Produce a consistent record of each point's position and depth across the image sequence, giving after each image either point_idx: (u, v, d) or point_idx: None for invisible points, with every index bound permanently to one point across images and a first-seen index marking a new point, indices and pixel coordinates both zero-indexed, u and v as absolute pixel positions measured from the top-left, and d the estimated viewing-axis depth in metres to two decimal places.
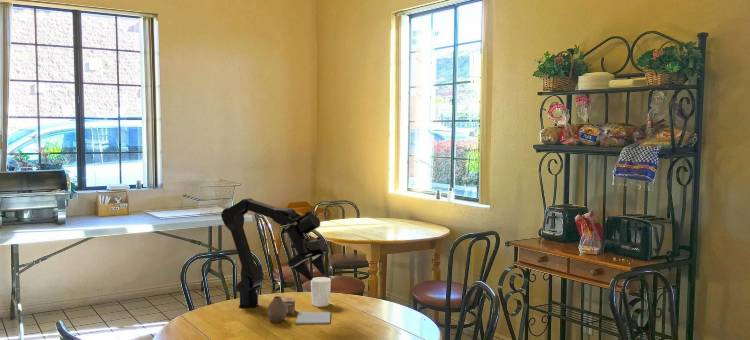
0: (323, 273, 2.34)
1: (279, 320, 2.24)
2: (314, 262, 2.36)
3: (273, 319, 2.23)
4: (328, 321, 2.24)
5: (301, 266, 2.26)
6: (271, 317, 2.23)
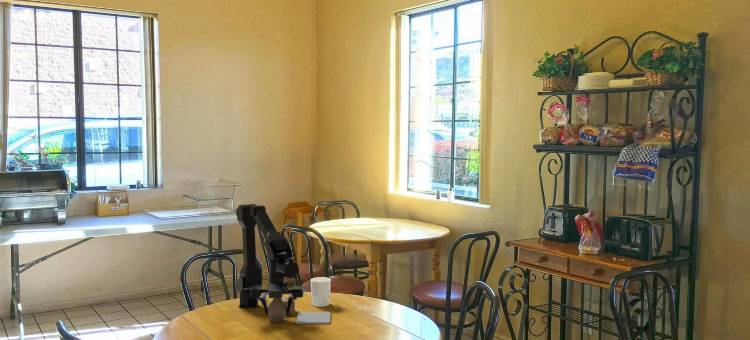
0: None
1: (279, 320, 2.24)
2: None
3: (273, 319, 2.23)
4: (328, 321, 2.24)
5: None
6: (271, 317, 2.23)
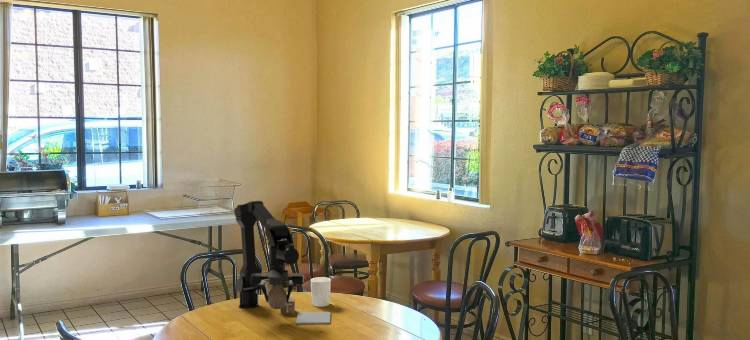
0: None
1: (279, 307, 2.23)
2: None
3: (273, 306, 2.23)
4: (328, 321, 2.24)
5: None
6: (271, 303, 2.23)
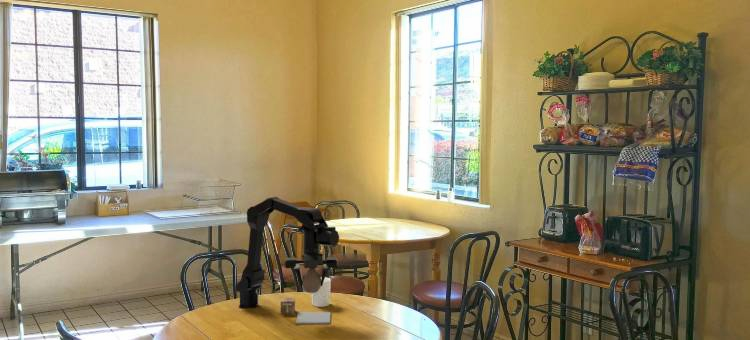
0: (321, 284, 2.28)
1: (314, 290, 2.25)
2: None
3: (308, 289, 2.25)
4: (328, 321, 2.24)
5: None
6: (306, 287, 2.25)
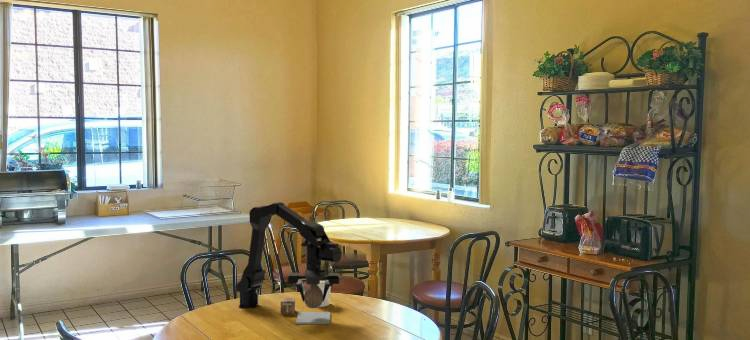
0: None
1: (316, 306, 2.26)
2: None
3: (310, 305, 2.26)
4: (328, 321, 2.24)
5: None
6: (308, 302, 2.26)
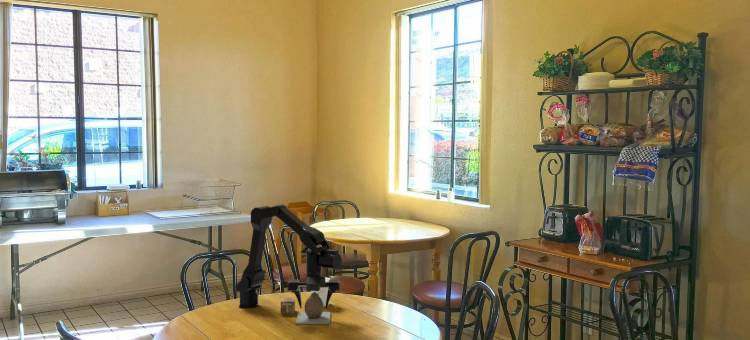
0: None
1: (316, 316, 2.27)
2: None
3: (310, 315, 2.26)
4: (328, 321, 2.24)
5: None
6: (308, 312, 2.26)
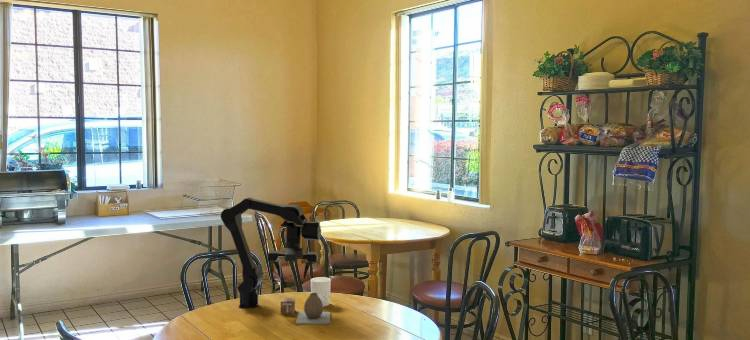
0: None
1: (316, 316, 2.27)
2: None
3: (310, 315, 2.26)
4: (328, 321, 2.24)
5: None
6: (308, 313, 2.26)
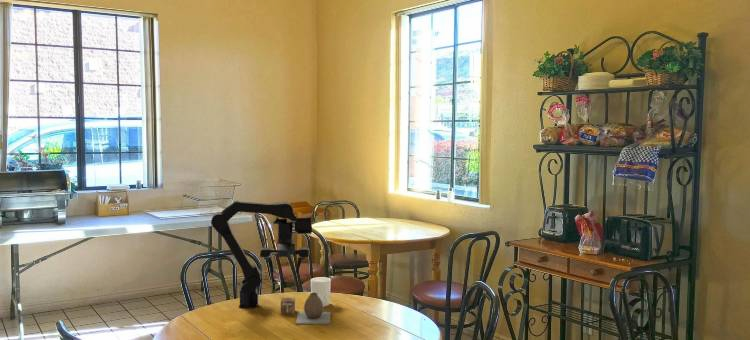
0: None
1: (316, 316, 2.27)
2: None
3: (310, 315, 2.26)
4: (328, 321, 2.24)
5: None
6: (308, 313, 2.26)
